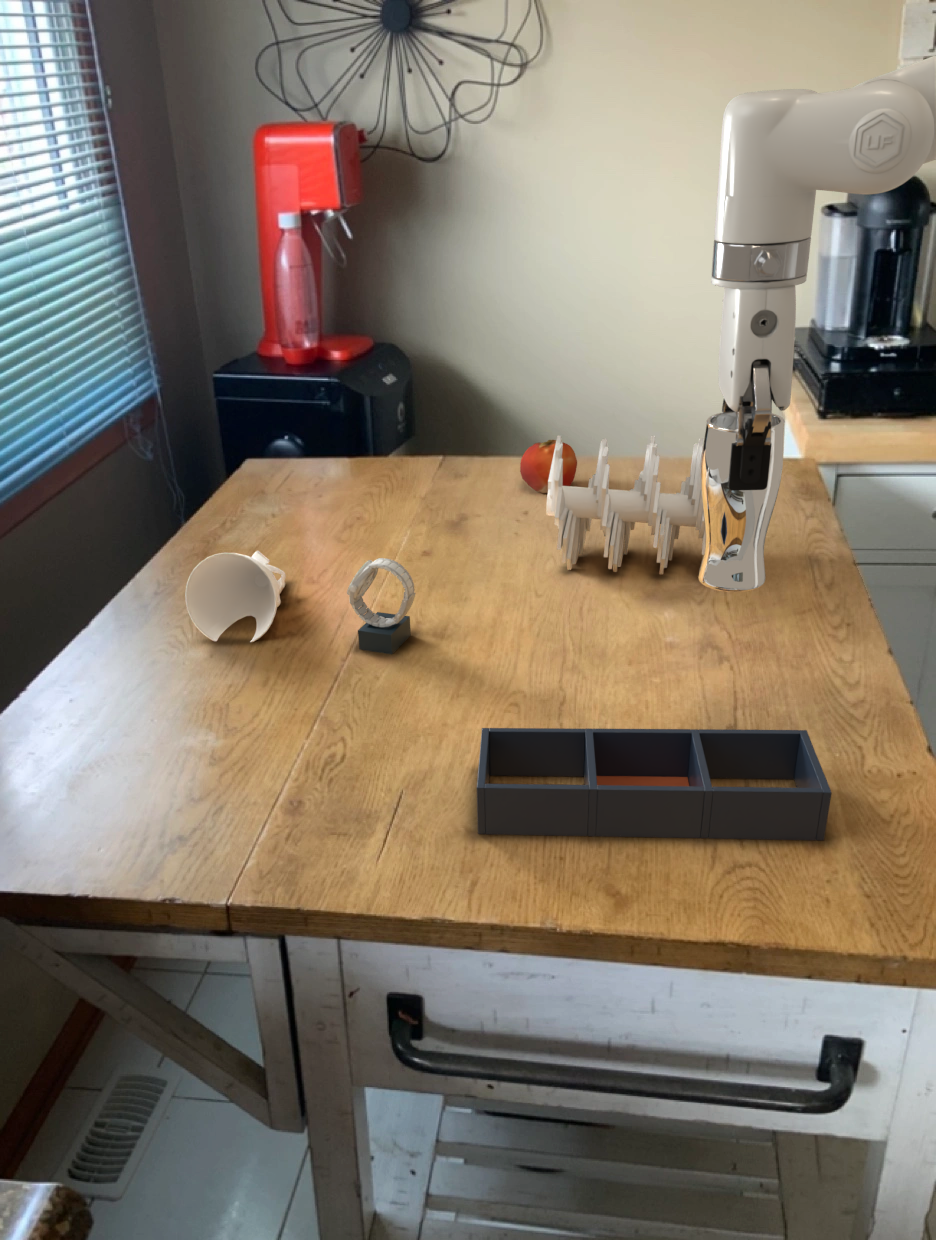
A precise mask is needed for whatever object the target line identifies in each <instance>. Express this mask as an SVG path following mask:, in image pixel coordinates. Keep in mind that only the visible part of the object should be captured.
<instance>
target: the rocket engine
mask: <svg viewBox="0 0 936 1240" xmlns="http://www.w3.org/2000/svg"><path fill="white" fill-rule="evenodd" d="M270 562H271V560H270V559H269V558H268V557H266V555H264V553H262V552H261V551H260V550H256V551H255V552H253V554H252V556H249V555H246V554H241V553H237V552H219V553H215V554H212V555H210V556H207V557H206V558H204V559H203V560H201V561H200V562H198V563H197V565H196V566H195V567H193V570H191V572H190V574H189V576H188V579H187V582H186V584H185V592H184V595H185V596H184V599H185V605H186V611H187V613H188V615H189V618H190V620H191V622H192V623H193V624H194V627H196V628H197V630H198V631H199V632H200V633H201V634H202V635H203V636H205V638H208V640H210V641H213V642H217V641H218V640H219V638H220V637H221V636H222V634H223V633H224V632H225V631H226V630H227V629H228V628H229V627H231V626H232V625H233V624H235V623H236V622H237V621H239V620H241V619H243V618H246V617H253V618H254V619H255V621H256V629H255V632H254V635H253V637H252V638H251V640H250V641H249V643H254V642H256V641H257V640H259V639H261V638H262V637H263V636H264V635H265V634H266V633H267V632H268V630H269V629H270V627H271V625H273V622H274V619H275V616H276V613H277V611H278V610H277V609H278V607H279V606H280V605H281V604H282V601H281V596H280V594H281V593H282V591H283V589H285V586H286V585H287V584H286V578H287V574H286V572H285V571H284V570H283V569H280V568H279V567H277V566H274V565H271V564H270ZM275 574H279V575H280V578H278V579H277V578H276V576H275Z"/></svg>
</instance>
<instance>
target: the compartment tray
mask: <svg viewBox="0 0 936 1240" xmlns="http://www.w3.org/2000/svg"><path fill="white" fill-rule="evenodd" d="M491 776H493V777H494V776H496V777H497V776H499V777H501V776H503V777H569V778H570V777H578V778H580V777H583V783H584V784H544V783H543V784H538V783H537V784H535V783H533V784H531V783H524V784H523V783H490V780H491V779H490V777H491ZM711 779H730V780H731V779H738V780H794V784H795V785H796V787H777V786H776V787H773V786H772V787H771V786H769V787H768V786H713V785H712V780H711ZM832 793H833V792H832V790H831V787H830V785H829V782H828V780H827V777H826V775H825V773H824V770H823V768H822V765H821V763H820V760H819V757H818V755H817V753H816V750H815V748H814V745H813V743H812V740H811V738H810V735H809V733H808V730H806V729H731V728H730V729H729V728H728V729H723V728H721V729H717V728H715V729H713V728H712V729H711V728H710V729H709V728H707V729H706V728H705V729H703V728H699V729H696V728H695V729H694V728H693V729H691V728H588V727H587V728H566V727H565V728H560V727H559V728H555V727H554V728H553V727H552V728H551V727H550V728H549V727H548V728H543V727H542V728H541V727H540V728H539V727H534V728H533V727H482V728H481V735H480V745H479V756H478V768H477V780H476V812H477V813H476V814H477V815H476V817H477V818H476V819H477V835H502V836H503V835H504V836H557V837H559V836H560V837H609V838H610V837H611V838H613V837H614V838H615V837H616V838H663V839H664V838H667V839H669V838H670V839H715V840H716V839H722V840H723V839H724V840H766V841H767V840H771V841H773V840H775V841H776V840H777V841H825V836H826V830H827V824H828V817H829V813H830V812H829V811H830V805H831V798H832Z"/></svg>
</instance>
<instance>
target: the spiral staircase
mask: <svg viewBox="0 0 936 1240" xmlns="http://www.w3.org/2000/svg"><path fill="white" fill-rule="evenodd" d="M555 440H556V445H555V450H554V454H553V459H552V464H551V469H550V474H549V479H548V493H546V494H547V495H546V507H545V510H546V511H545V514H546V516H550V517H551V516H553V517H554V522H553V523H554V524H553V525H554V526H556V528H557V545H556V550H557V551H561V564H566V568H567V571H572V569H573V565H576V564H577V562H578V559H579V555H583V553H584V548H585V543H586V539H587V532H591V528H592V527H591V526H592V520H600V525H599V528H600V529H599V530H600V531H602V532H603V537H605V538H604V539H605V540H604V552H603V558H608V565H607V569H608V570H612V572H613V573H618V568H621V567H622V563H623V556H624V555H628V551H629V546H630V545H629V544H630V539H631V531H635V527H636V523H641V524H647V526H649V527H650V526H651V531H650V536H653V544H652V545H653V546H652V548H655V549H657V555H656V564H659V572H658V574H659V575H664V571H665V569H667V568H668V562H669V561H673V553H674V547H675V540H679V536H680V529H681V527H691V528H695V531H698V539H701V555H702V556H703V555H704V550H705V524H704V515H703V507H702V497H701V481H700V480H701V461H702V451H703V444H704V438H703V437H699V439H698V443H695V442H694V443H693V449H692V457H691V464H690V473H689V476H686V477H685V480H682V481H681V485H680V492H676V493H667V492H661V481H658V476H659V466H660V458H661V455H659V454H658V455H657V450H658V443H656V435H651V436H650V443H646V451H645V456H644V463H643V470H641V471H640V473H639V475H638V479H634V486H633V488H630V490H626V489H614V488H613V489H611V488H610V486H609V485H610V467H611V465H610V464H609V450H610V448H609V445H608V438H602V439H601V440H600V445H599V449H598V458H597V464H596V469H595V473H594V474H593V475H591V477H589V479H588V486H587V487H585V486H574V485H573V486H572V485H570V486H562V485H563V459H562V449H563V444H562V442H563V439H562V435H557V436H556V439H555Z"/></svg>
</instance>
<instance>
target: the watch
mask: <svg viewBox="0 0 936 1240" xmlns="http://www.w3.org/2000/svg"><path fill="white" fill-rule="evenodd" d="M379 569H381V570H384V571H387V572H388V573H391V575H393V576H394V577H396V579H397V580H398V581H399V582H401V585H402V587H403V589H404V591H403V598H402V600H401V603H400V607H399V609H398V611H397V612H396V613H387V612H381V611H377V612H376V613H375V612H374V611H373V610H372V609H370V607H368V606H367V605H368V604H366V602H365V601H364V598H363V597H364V596H365V593H366V592H367V590H368V589H369V588H370V587H371V585H372V584H373V582H374V581H375V579H376V577H377V575H378V571H379ZM415 590H416V589H415V584H414V580H413V578H412V576H411V574H410V573H409V571H408V570H407V569H406V568H405V567H404V566H403V565H402V564H401V563H399V562H398V561H396V560H394V559H391V558H387V557H386V558H384V557H379V558H376V559H375V560H371V559H368V560H367V561H365V562H364V563H363V564H362V566H361V567H359V569H358V570H357V572H356V573H355V574H354V576H353V578H352V580H351V581H350V583H349V585H348V587H347V590H346V595H347V596H349V598H348V602H349V604H350V606H351V608H352V609H353V611H354V612H355V614H356V615H357V616H358V618H360V619H361V620H362V621H363V622H365V623H364V624H363V625H362V626H361V627H360V628H359V629H357V637H358V649H359V650H360V651H367V652H374V653H380V654H386V655H394V653H395V652H396V651H397V650H398V649H399V648H400V647H401V646H402V645H403V644H404V643H405V642H406V641H407V640H408V639H409V638H410V637H411V635H412V632H411V631H412V630H411V629H412V628H411V616H410V615H407V614H408V613H409V611H410V609H411V607H412V605H413V603H414V601H415V596H416V592H415Z"/></svg>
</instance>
